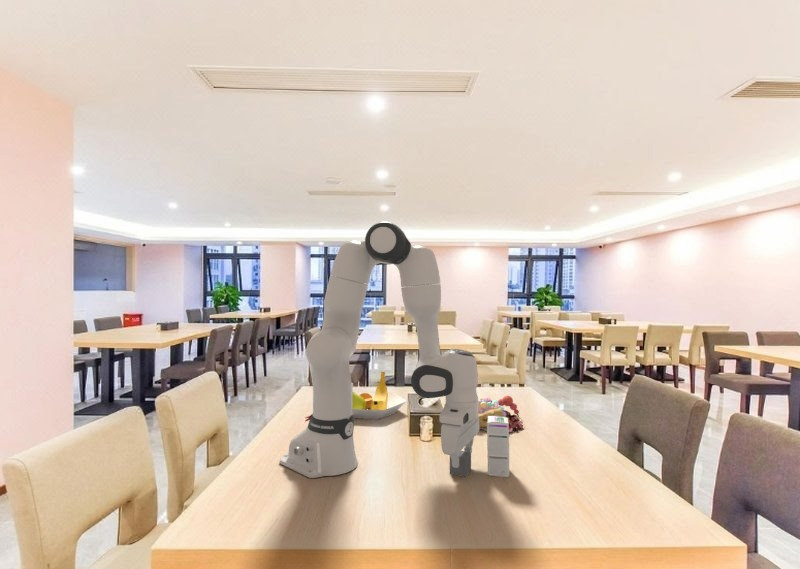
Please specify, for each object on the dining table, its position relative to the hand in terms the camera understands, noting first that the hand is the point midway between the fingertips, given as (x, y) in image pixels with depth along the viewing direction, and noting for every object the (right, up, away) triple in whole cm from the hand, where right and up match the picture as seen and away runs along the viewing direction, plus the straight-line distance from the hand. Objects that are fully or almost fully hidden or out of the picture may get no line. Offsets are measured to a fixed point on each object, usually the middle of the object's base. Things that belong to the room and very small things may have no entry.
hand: (462, 460), depth 111 cm
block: (-1, -3, 0) cm, 3 cm away
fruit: (-29, -4, +54) cm, 61 cm away
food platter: (+17, -4, +42) cm, 45 cm away
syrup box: (+10, -4, 0) cm, 10 cm away
